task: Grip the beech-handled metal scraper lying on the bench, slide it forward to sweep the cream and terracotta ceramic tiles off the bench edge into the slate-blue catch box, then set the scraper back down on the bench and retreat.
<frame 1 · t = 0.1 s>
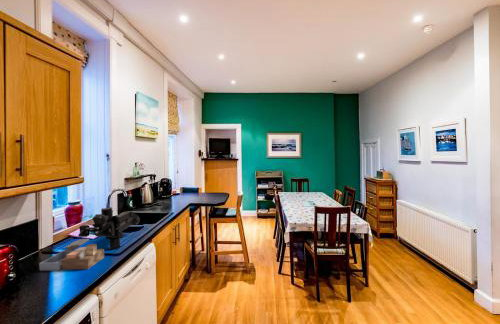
hand: (87, 235, 133), 17 cm above the countertop, tool horizontal, fingers open, 9 cm apart
tile cream: (81, 252, 140), point 5 cm above the countertop, touching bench
catch box: (61, 263, 138), on the countertop
scraper: (91, 254, 137), point 5 cm above the countertop, touching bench
cleaver: (71, 248, 162), on the countertop
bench: (84, 263, 137), on the countertop
tile terracotta: (74, 256, 134), point 5 cm above the countertop, touching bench
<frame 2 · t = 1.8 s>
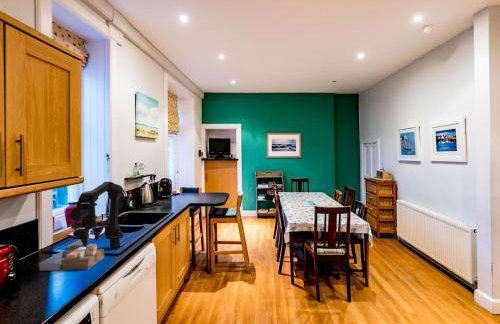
hand: (91, 243, 137), 11 cm above the countertop, tool pointing down, fingers open, 9 cm apart
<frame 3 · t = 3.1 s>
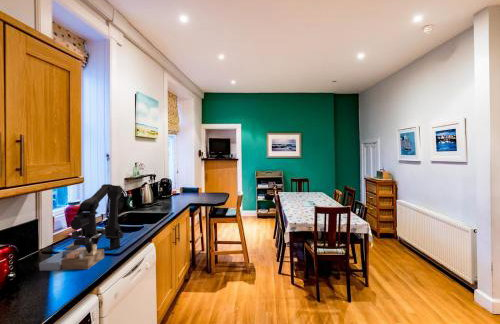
hand: (91, 251, 137), 6 cm above the countertop, tool pointing down, fingers closed on scraper, 3 cm apart
scraper: (91, 254, 137), point 5 cm above the countertop, touching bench, gripper
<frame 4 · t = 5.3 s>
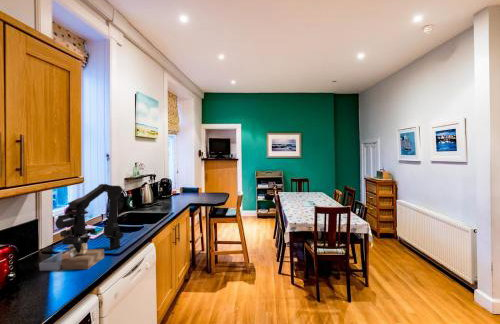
hand: (80, 251, 137), 7 cm above the countertop, tool pointing down, fingers closed on scraper, 3 cm apart
tile cream: (77, 252, 140), point 5 cm above the countertop, touching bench, scraper
scraper: (82, 253, 137), point 6 cm above the countertop, touching gripper, tile cream
tile terracotta: (69, 256, 134), point 5 cm above the countertop
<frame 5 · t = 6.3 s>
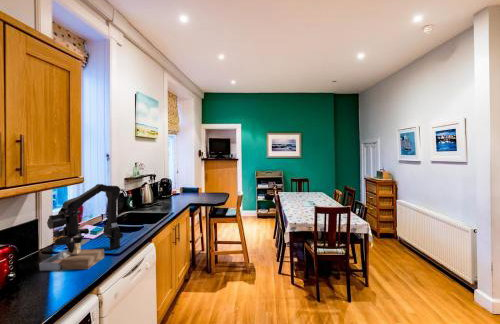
hand: (73, 251, 137), 7 cm above the countertop, tool pointing down, fingers closed on scraper, 3 cm apart
tile cream: (65, 256, 141), point 2 cm above the countertop, tilted 180°, touching catch box
scraper: (75, 253, 137), point 6 cm above the countertop, touching gripper
tile terracotta: (56, 261, 134), point 2 cm above the countertop, tilted 180°, touching catch box
when the fingers open (7 cm above the countertop, at t = 7.6 s): scraper stays where it is, resting on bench.
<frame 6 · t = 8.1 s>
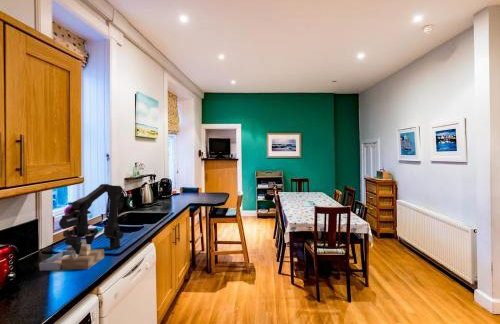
hand: (83, 251, 137), 7 cm above the countertop, tool pointing down, fingers open, 8 cm apart
scraper: (85, 254, 137), point 5 cm above the countertop, touching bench
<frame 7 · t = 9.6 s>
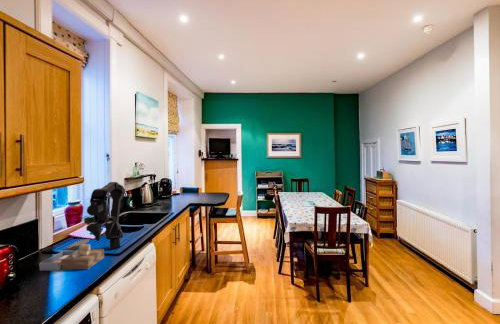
hand: (103, 237, 143), 12 cm above the countertop, tool pointing down, fingers open, 9 cm apart
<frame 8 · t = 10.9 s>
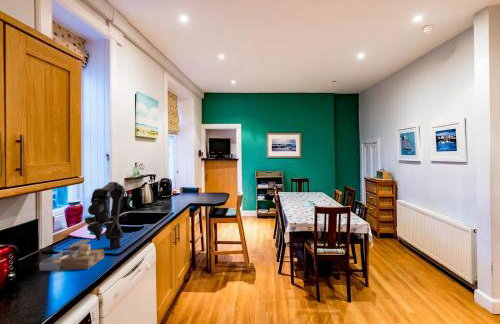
hand: (103, 237, 143), 12 cm above the countertop, tool pointing down, fingers open, 9 cm apart
at the end: tile cream inside the target area on the catch box (3.0 cm from its centre), point 2.5 cm above the catch box's base; tile terracotta inside the target area on the catch box (3.1 cm from its centre), point 2.5 cm above the catch box's base; scraper inside the target area on the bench (0.9 cm from its centre), point 5.0 cm above the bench's base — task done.
